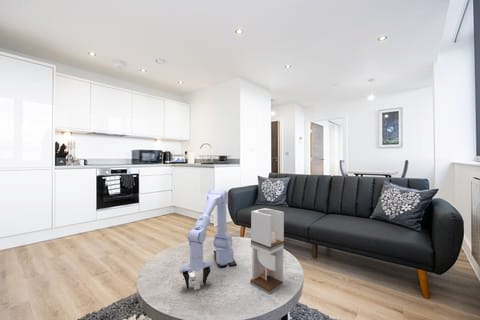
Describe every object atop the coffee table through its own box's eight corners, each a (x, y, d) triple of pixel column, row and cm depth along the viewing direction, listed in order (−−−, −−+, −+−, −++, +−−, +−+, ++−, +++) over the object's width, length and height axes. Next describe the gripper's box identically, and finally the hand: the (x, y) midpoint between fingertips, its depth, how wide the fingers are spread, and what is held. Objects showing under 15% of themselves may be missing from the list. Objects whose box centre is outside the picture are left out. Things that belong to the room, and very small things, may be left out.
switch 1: (189, 268, 117) (189, 265, 117) (191, 272, 113) (191, 268, 113) (185, 269, 116) (185, 266, 116) (186, 273, 112) (186, 269, 112)
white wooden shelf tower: (250, 284, 106) (251, 211, 106) (264, 276, 113) (265, 208, 113) (269, 294, 98) (270, 215, 98) (282, 285, 105) (284, 212, 105)
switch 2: (193, 275, 110) (193, 272, 110) (195, 279, 106) (195, 276, 106) (188, 276, 109) (188, 273, 109) (190, 280, 105) (190, 277, 105)
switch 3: (197, 284, 102) (197, 280, 102) (199, 288, 99) (199, 284, 99) (192, 285, 101) (192, 281, 101) (194, 290, 98) (194, 285, 98)
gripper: (181, 262, 93) (181, 294, 93) (214, 256, 99) (214, 286, 99) (179, 255, 100) (178, 285, 100) (209, 250, 106) (209, 279, 106)
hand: (196, 285), depth 100 cm, fingers open, 7 cm apart
